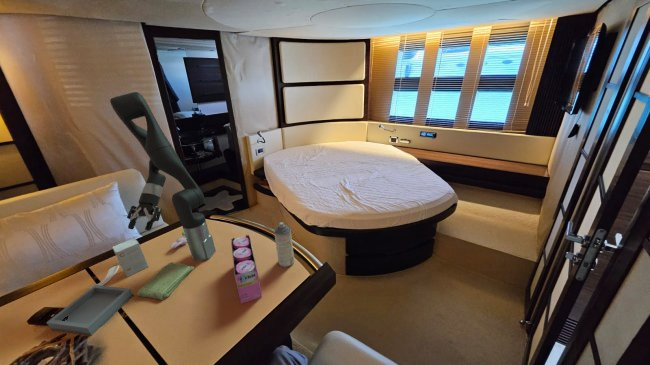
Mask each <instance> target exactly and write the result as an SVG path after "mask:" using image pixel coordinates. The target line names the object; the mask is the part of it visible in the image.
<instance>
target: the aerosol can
mask: <svg viewBox="0 0 650 365" xmlns="http://www.w3.org/2000/svg"><path fill="white" fill-rule="evenodd" d="M291 229H292V228H291V227H290V226H289V225H287V224H284V222H282V221H281V222H279V225H278V226H276V227H275V228H274V233H273V235H274V239H275V246H276V253H277V255H276V256H277V260H278V261H277V262H278V265H279V267H281V268H290V267H292V266H293V265H294V263H295V255H294V247H293V239H292V238H293V237H292V230H291Z"/></svg>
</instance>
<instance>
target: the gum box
mask: <svg viewBox="0 0 650 365" xmlns="http://www.w3.org/2000/svg"><path fill="white" fill-rule="evenodd" d="M251 239H252V238H251V237H250V235H249V234H245V236H240V237H237V238H235V237H232V238H231V240H230V241H231V242H230V246H231V254H232V261H233V262H232V263H233V273H234V275H233V276H234V280H235V285H236V288H237V292H238V293H237V294H238V297H239V301H240V304H241V305H242V304H245V303H247V302H250V301H254V300H257V299H260V298H262V297H263V294H262V289H261V283H260V278H259V277H260V276H259V272H258V267H257V262H256V257H255V253H254V248H253V244H252V240H251Z"/></svg>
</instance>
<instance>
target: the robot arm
mask: <svg viewBox="0 0 650 365" xmlns="http://www.w3.org/2000/svg"><path fill="white" fill-rule="evenodd" d="M109 102H110V105H111V107H112V110H113V111H114V113H115V114H116V115H117V117H118V118H119V120H120V121H121V122H122V123H123V124H124V125H125V127H126V128H127V129H128V130H129V132H130V133H131V134H132V135H133V136H134V137H135V138H136V140H137V141H138V142H139V144H140V145H141V147H142V149H143V150H144V151H145V153H146V154H147V156H148V157H149V162H148V176H147V179H146V182H145V184H144V187H143V188H142V191H141V193H140V196H139V199H138V201H137V202H138V206H135V205H131V207H130V209H129V212H128V214H127V216H126V218H127V219H128V220H129V223H128V226H127V228H128V229H129V230H134V228H135V225H136V224H137V221H138V220H139V219H140V218H144V217H146V219H147V220H148V221H146V225H145V227H144V230H145V231H148V232H149V231H151V229H152V228H153V224H154V223H155V222H158V221H159V220H160V218H161V214H162V211H163V209H162V207H158V205H159V203H160V199H161V196H162V194H163V189H164V187H165V182H166V180H167V177H166V176H165V175H164V174H162V173H160V171H161V172H163V173H165V174H167V175H169V177H172V178H174V179H175V180H176V181H177V182H178V183H179V184H180V185H181V186H182V187H183V189H182V190H179V191H177V192H175V193H173V194H172V196H171V203H172V205H173V209H174V210H175V213H176V215H177V217H178V218H177V219H178V220H179V222H180V224H181V226H182V229H183V232H184V233H185V236H186V239H187V245H188V249H189V252H190V254H191V257H192V260H193V261H194V262H195V261H196V262H201V261H205V260H210V259H211V258H212V257H213V255H214V254H215V253H216V251H217V250H216V247H215V242H214V238H213V235H212V234H211V233H210V230H209V227H208V224H207V220H206V217H205V215H204V213H202V212H192V211H193V210H195V209H196V208H199V207H200V206H202V205H204V203H205V200H206V199H205V195H204V193H203V192H202V190H201V188H200V187H199V185H198V183H196V181H195V180H194V179H193V178H192V176H191V175H190V173H189V172H188V170H187V168H186V167H185V166H184V164H183V162H182V161H181V159H180V157H179V155H178V154H177V152H176V150H175V149H174V147H173V145H172V144H171V143H170V141H169V139H168V138H167V136H166V134H165V133H164V132H163V130H162V128H161V127H160V124H159V122H158V121H157V118H156V117H155V116H154V113H153V112H152V110H151V107H150V105H149V104H148V102H147V100H146V99H145V97H144V96H143V95H142V93H140V92H138V91H133V92H129V93H125V94H122V95H121V94H120V95H118V96H114V97H112V98H110V100H109ZM143 117H144V118H145V121H146V129H145V128H142V127H141V126H140V125H137V124H136V123H135V122H134V120H136V119H139V118H143ZM185 236H184V237H185Z"/></svg>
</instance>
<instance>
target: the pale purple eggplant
mask: <svg viewBox="0 0 650 365" xmlns="http://www.w3.org/2000/svg"><path fill="white" fill-rule="evenodd" d="M181 235H182V236H180V237H178V238H177V239H176V241H174V242H172V243H171V244H170V249H175V248H176V247H178V246H183V245H185V244H188V242H187V239H186V236H185V233H184V231H182V232H181ZM183 236H184V237H183Z"/></svg>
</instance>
